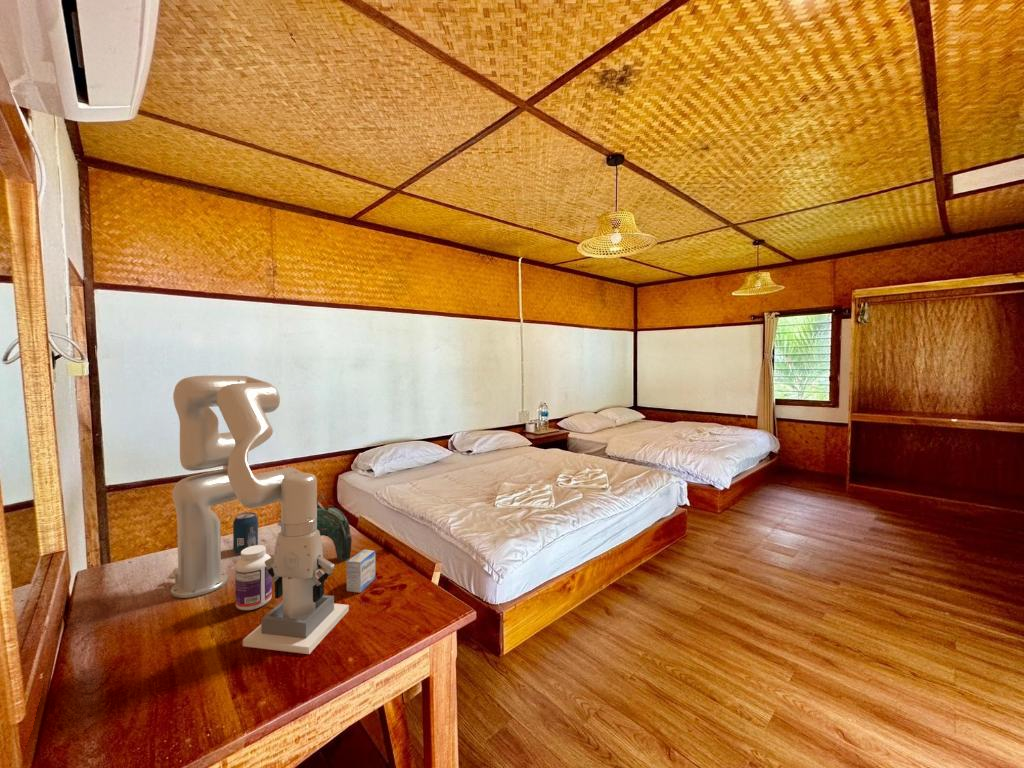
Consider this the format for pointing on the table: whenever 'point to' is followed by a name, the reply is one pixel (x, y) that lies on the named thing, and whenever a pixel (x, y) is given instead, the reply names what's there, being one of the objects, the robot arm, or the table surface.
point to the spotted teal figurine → (335, 529)
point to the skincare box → (297, 598)
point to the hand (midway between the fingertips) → (299, 597)
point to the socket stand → (296, 628)
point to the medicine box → (360, 571)
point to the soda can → (245, 531)
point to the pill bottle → (252, 579)
